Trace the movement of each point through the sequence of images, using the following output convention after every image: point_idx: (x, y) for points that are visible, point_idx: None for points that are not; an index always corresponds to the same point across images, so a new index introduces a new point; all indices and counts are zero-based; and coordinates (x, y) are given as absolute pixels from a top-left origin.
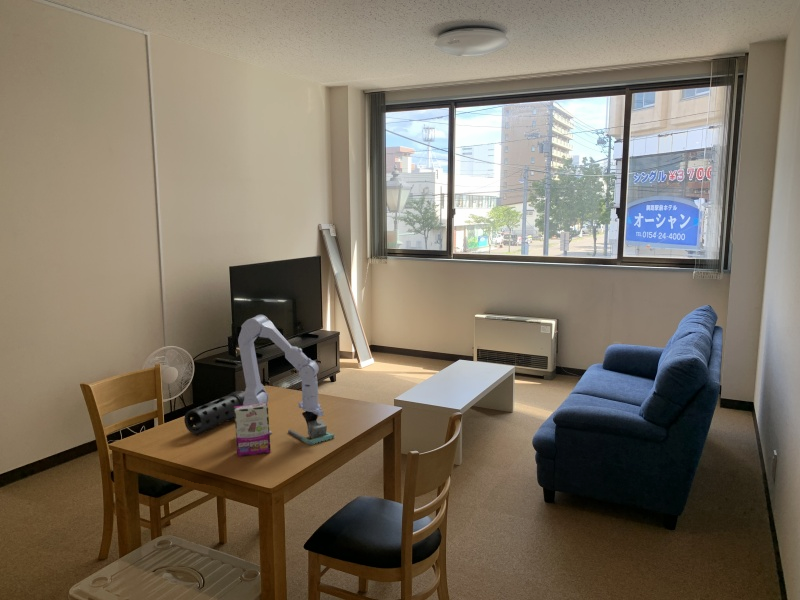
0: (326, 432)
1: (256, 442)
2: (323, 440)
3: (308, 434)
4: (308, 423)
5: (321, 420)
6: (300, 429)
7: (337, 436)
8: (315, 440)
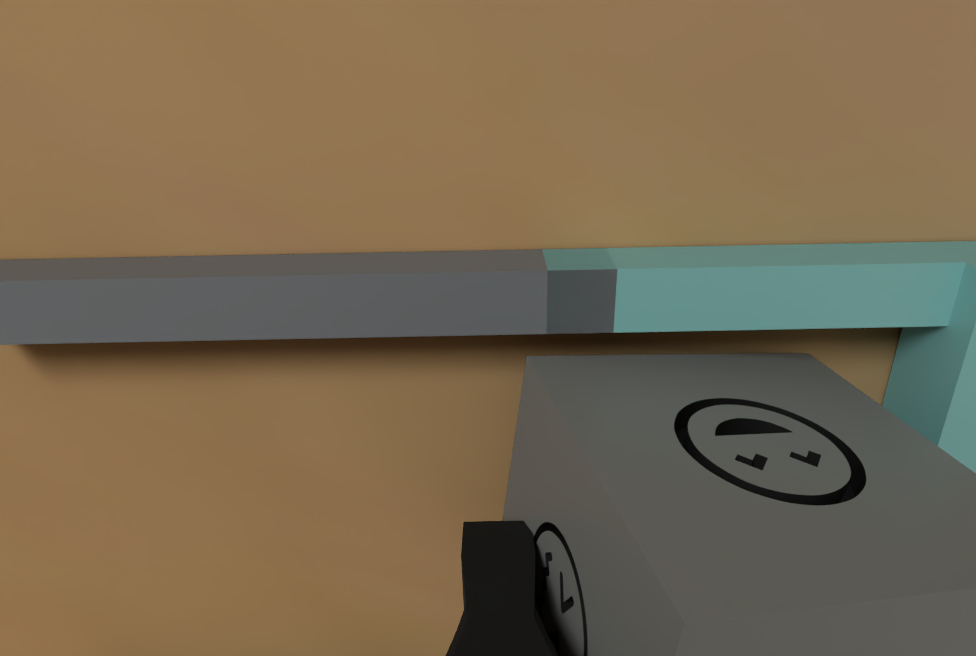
0: (717, 295)
1: None
2: None
3: None
4: None
5: (771, 633)
6: (47, 506)
7: (968, 113)
8: None
